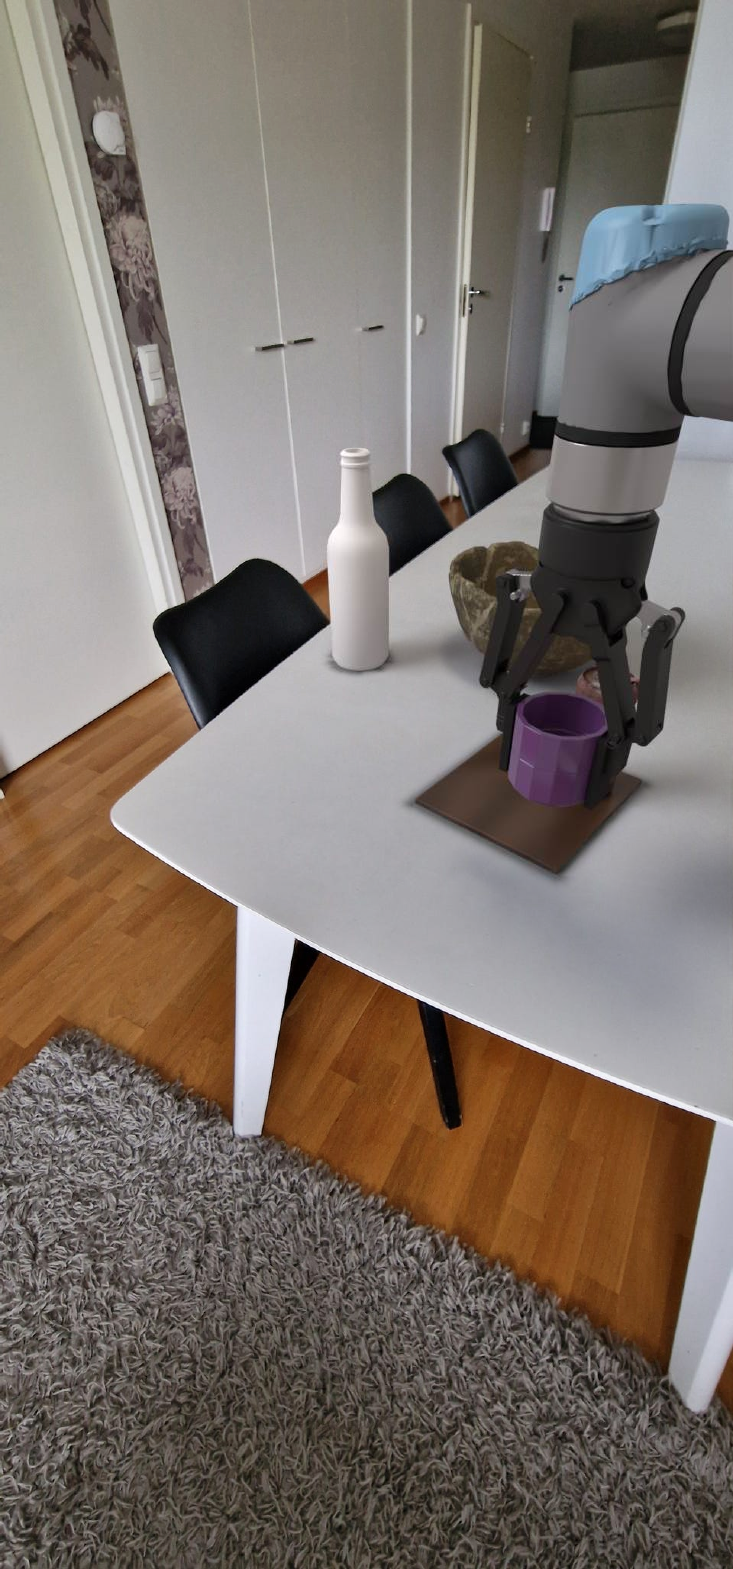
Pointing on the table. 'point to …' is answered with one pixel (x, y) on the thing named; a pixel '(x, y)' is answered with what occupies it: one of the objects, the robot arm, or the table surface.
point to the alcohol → (358, 571)
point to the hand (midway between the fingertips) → (551, 781)
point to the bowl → (479, 602)
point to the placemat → (518, 810)
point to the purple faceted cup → (555, 747)
